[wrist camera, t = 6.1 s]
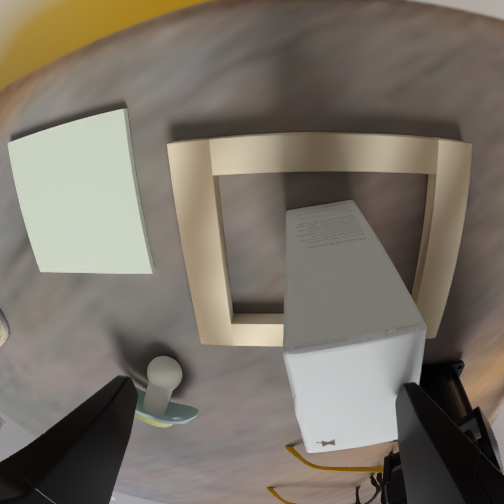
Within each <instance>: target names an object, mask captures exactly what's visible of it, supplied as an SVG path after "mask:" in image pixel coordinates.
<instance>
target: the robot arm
mask: <svg viewBox="0 0 504 504" xmlns="http://www.w3.org/2000/svg"><path fill="white" fill-rule="evenodd" d="M464 366H465V365H464V362H463V361H462V360H458V361H452V362H445V363H438V364H430V365H422V367H421V375H420V381H419V385H418V384H417V383H415V382H408V383H403V384H402V386H401V388H400V390H399V393H398V395H397V398H396V401H395V408H396V419H397V432H398V439H396V440H393V442H396V441H397V442H398V447H399V452H397V453H395V454H393V455H391V454H390V455H388V456H386V457H385V458H384V468H383V481H382V493H381V503H382V504H504V475H503V473H504V472H503V467H502V461H501V457H500V453H499V449H498V445H497V441H496V439H495V436H494V434H493V431H492V429H491V426H490V424H489V422H488V421H487V419H486V417H485V416H484V414H483V412H482V411H481V409H480V408H479V406H478V407H476V408H475V409H472V407H471V404H470V402H469V399H468V397H467V395H466V392H465V390H464V388H463V385H462V383H461V381H460V378H459V377H460V375H461V372H462V370H463V368H464ZM137 401H138V392H137V390H136V387H135V385H134V383H133V381H132V379H131V378H130V377H128V376H122V375H119V376H117V377H115V378H114V379H113V380H112V381H110V382H109V383H108V384H106V385H105V386H104V387H103V388H101V389H100V390H99V391H98V392H96V393H95V394H94V395H92V396H91V397H90V398H89V399H87V400H86V401H85V402H83V403H82V404H81V405H80V406H78V407H77V408H76V409H74V410H73V411H72V412H71V413H69V414H68V415H67V416H65V417H64V418H63V419H62V420H60V421H59V422H58V423H56V424H55V425H54V426H53V427H51V428H50V429H49V430H47V431H46V432H45V434H42V435H41V436H39V437H38V438H37V439H36V440H34V441H33V442H31V443H30V444H29V445H27V446H26V447H24V448H23V449H21V450H19V451H18V452H16V453H15V454H13V455H11V456H10V457H8V458H7V459H5V460H3V461H1V462H0V504H109V502H110V499H111V496H112V492H113V489H114V486H115V482H116V479H117V476H118V473H119V469H120V466H121V463H122V460H123V457H124V454H125V451H126V448H127V445H128V441H129V438H130V434H131V430H132V425H133V420H134V415H135V411H136V406H137ZM480 436H481V437H480ZM479 437H480V438H479ZM477 438H479V439H477ZM476 439H477V440H476Z"/></svg>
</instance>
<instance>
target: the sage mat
mask: <svg viewBox="0 0 504 504" xmlns="http://www.w3.org/2000/svg"><path fill="white" fill-rule="evenodd" d="M8 148H9V155H10V160H11V166H12V171H13V176H14V181H15V185H16V190H17V194H18V198H19V203H20V207H21V210H22V214H23V218H24V222H25V225H26V229H27V232H28V236H29V239H30V242H31V245H32V249H33V252H34V255H35V258H36V261H37V264H38V267H39V269H40V272H65V273H125V274H153V272H154V271H155V268H154V264H153V259H152V255H151V250H150V246H149V241H148V236H147V231H146V226H145V221H144V216H143V211H142V205H141V200H140V194H139V188H138V182H137V176H136V170H135V163H134V157H133V150H132V142H131V135H130V127H129V119H128V110H127V108H124V109H119V110H115V111H111V112H107V113H102V114H98V115H94V116H91V117H87V118H83V119H79V120H76V121H72V122H69V123H65V124H62V125H59V126H56V127H52V128H49V129H46V130H43V131H40V132H37V133H34V134H31V135H28V136H25V137H23V138H20V139H17V140H15V141H12V142H9V143H8Z"/></svg>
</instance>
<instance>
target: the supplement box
mask: <svg viewBox="0 0 504 504" xmlns="http://www.w3.org/2000/svg"><path fill="white" fill-rule="evenodd" d="M5 424H6V423H5V422H4V421H3V420H2V419H1V418H0V432H1V430H2V429H3V427H4V425H5Z"/></svg>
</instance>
